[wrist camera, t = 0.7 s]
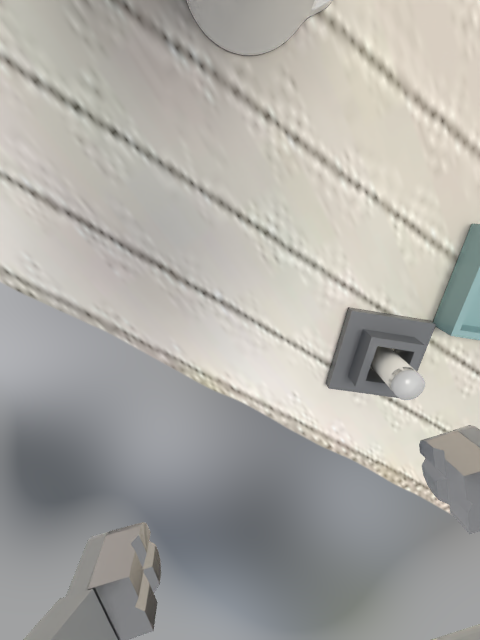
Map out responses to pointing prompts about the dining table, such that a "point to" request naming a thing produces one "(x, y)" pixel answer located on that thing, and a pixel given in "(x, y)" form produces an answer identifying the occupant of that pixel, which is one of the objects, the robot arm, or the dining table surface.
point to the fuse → (397, 374)
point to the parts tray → (463, 292)
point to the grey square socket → (362, 342)
